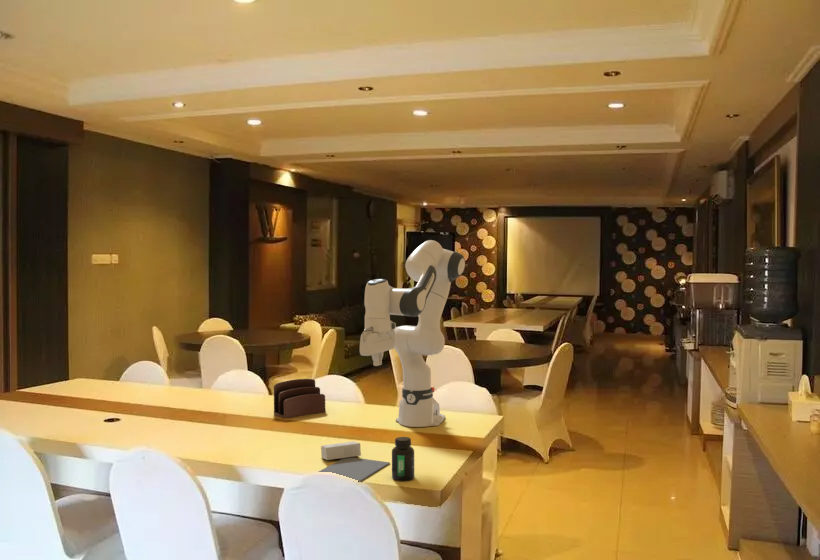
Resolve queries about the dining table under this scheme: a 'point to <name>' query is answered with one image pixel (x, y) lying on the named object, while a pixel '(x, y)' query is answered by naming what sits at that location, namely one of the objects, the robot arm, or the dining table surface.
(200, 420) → the dining table surface
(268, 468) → the dining table surface
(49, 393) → the dining table surface
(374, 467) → the mat
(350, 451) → the skincare box
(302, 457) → the dining table surface
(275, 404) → the letter holder
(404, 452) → the supplement bottle
